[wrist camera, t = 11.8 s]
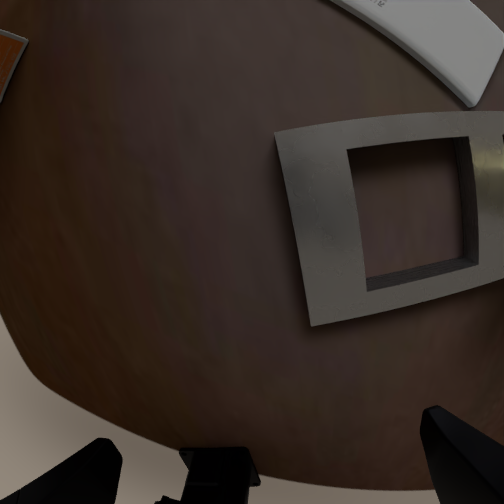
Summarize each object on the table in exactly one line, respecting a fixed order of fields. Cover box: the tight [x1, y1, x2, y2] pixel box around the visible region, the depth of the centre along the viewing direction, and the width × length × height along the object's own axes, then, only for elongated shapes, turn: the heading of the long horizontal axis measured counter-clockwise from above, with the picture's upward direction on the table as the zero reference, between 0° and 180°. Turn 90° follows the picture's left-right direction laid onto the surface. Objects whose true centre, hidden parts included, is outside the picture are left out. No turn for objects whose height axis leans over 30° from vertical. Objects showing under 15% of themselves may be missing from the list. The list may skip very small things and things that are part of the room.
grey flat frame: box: [274, 111, 504, 326], centre depth 16 cm, size 11×26×2 cm, turn 102°
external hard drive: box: [330, 0, 504, 108], centre depth 14 cm, size 2×8×12 cm
